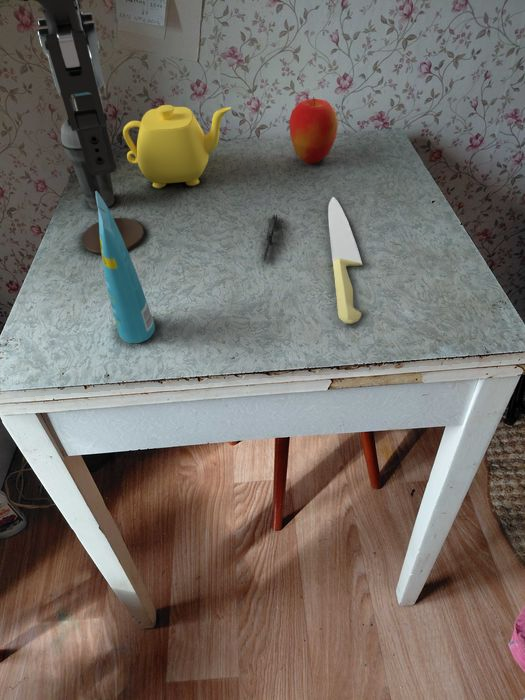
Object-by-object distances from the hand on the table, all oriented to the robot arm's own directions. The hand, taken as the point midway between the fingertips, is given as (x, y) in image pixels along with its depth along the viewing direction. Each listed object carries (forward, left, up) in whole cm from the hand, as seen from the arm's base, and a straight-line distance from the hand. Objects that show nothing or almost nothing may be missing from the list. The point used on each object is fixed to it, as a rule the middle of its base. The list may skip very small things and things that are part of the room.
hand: (99, 148), depth 45 cm
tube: (-2, +9, -30) cm, 31 cm away
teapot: (+12, +50, -30) cm, 59 cm away
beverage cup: (-4, +45, -30) cm, 54 cm away
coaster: (-3, +33, -29) cm, 44 cm away
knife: (+31, +16, -30) cm, 46 cm away
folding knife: (+21, +23, -30) cm, 43 cm away
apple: (+37, +47, -30) cm, 67 cm away
